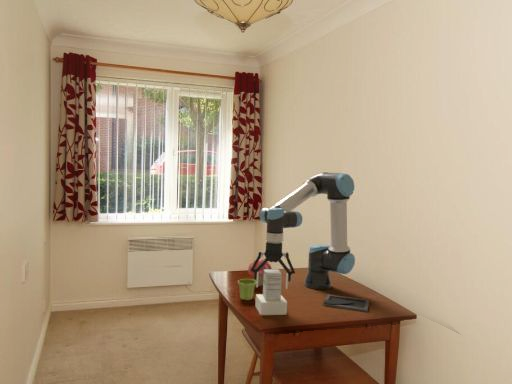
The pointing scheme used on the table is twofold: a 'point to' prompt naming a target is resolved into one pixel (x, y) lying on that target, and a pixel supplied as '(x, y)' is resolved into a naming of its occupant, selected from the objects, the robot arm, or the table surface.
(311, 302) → the table surface
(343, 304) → the picture frame
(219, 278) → the table surface
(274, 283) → the supplement box
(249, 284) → the plant pot
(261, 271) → the decorative mushroom
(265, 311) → the plinth
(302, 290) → the table surface
